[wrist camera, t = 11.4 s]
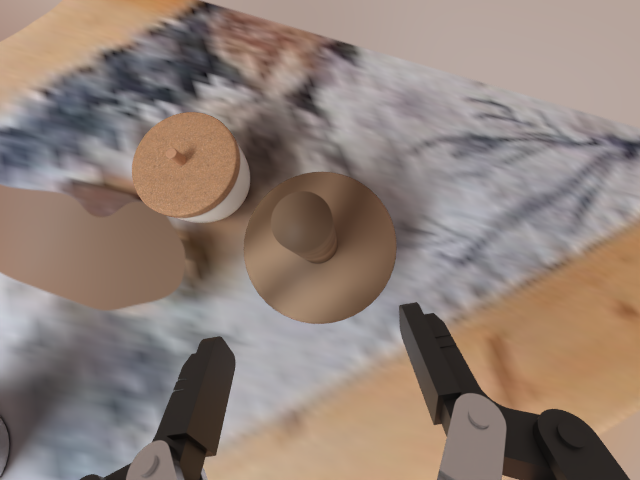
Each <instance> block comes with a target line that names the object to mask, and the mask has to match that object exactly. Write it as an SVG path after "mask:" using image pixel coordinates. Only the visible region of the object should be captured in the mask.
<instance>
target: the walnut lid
mask: <svg viewBox="0 0 640 480" xmlns="http://www.w3.org/2000/svg"><path fill="white" fill-rule="evenodd" d="M244 258H245V264H246V269H247V272H248V275H249V277H250V280H251V282H252V284H253V286H254V287H255V289H256V290H257V292H258V293H259V295H260V296H261V297H262V298H263V299H264V300H265V302H266V303H267V304H269V305H270V306H271V307H272V308H273V309H275V310H276V311H278V312H279V313H281V314H283V315H285V316H287V317H289V318H291V319H294V320H297V321H301V322H306V323H312V324H325V323H333V322H337V321H341V320H344V319H347V318H349V317H352V316H354V315H355V314H357V313H359V312H361V311H362V310H364V309H365V308H366V307H367V306H369V305H370V304H371V303H372V302H373V301H374V300H375V299H376V298H377V297H378V296H379V295H380V293H381V292H382V290H383V289H384V288H385V286H386V284H387V282H388V280H389V279H390V276H391V273H392V271H393V268H394V263H395V259H396V235H395V230H394V226H393V223H392V220H391V217H390V215H389V213H388V211H387V209H386V208H385V206H384V205H383V203H382V202H381V200H380V199H379V198H378V197H377V196H376V195H375V194H374V193H373V192H372V191H371V190H370V189H369V188H367V187H366V186H365V185H363V184H362V183H360V182H358V181H356V180H354V179H352V178H350V177H347V176H344V175H341V174H336V173H330V172H312V173H306V174H302V175H298V176H295V177H293V178H290V179H288V180H286V181H284V182H283V183H281V184H279V185H278V186H276V187H275V188H274V189H272V190H271V191H270V192H269V193H268V194H267V195H266V196H265V197H264V198H263V199H262V200H261V202H260V203H259V204H258V206H257V207H256V209H255V210H254V212H253V214H252V216H251V218H250V220H249V223H248V226H247V229H246V234H245V240H244Z"/></svg>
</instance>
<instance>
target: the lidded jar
mask: <svg viewBox="0 0 640 480" xmlns="http://www.w3.org/2000/svg"><path fill="white" fill-rule="evenodd" d="M132 178H133V183H134V186H135V189H136V191H137V193H138V195H139V197H140V198H141V199H142V201H143V202H144V203H145V204H146V205H147V206H148V207H150V208H151V209H153V210H154V211H157V212H159V213H161V214H164V215H166V216H171V217H175V218H178V219H181V220H185V221H190V222H198V223H208V222H214V221H218V220H222V219H224V218H226V217H228V216H230V215H231V214H233V213H234V212H235V211H236V210H237V209H238V208H239V207H240V206H241V205H242V203H243V202H244V200H245V199H246V196H247V194H248V191H249V187H250V171H249V166H248V163H247V160H246V158H245V155H244V153H243V151H242V150H241V148H240V146H239V145H238V143H237V142H236V140H235V138H234V137H233V135H232V133H231V132H230V131H229V130H228V128H227V127H226V126H225V125H224V124H223V123H222V122H220V121H219V120H218V119H216V118H214V117H212V116H209V115H207V114H203V113H196V112H187V113H180V114H177V115H173V116H171V117H168V118H166V119H164V120H163V121H161V122H159V123H158V124H156V125H155V126H154V127H153V128H152V129H151V130H150V131H149V132H148V133H147V134H146V135H145V136H144V138H143V139H142V141H141V142H140V144H139V146H138V148H137V150H136V153H135V155H134V159H133V164H132Z"/></svg>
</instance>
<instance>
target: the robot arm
mask: <svg viewBox="0 0 640 480" xmlns="http://www.w3.org/2000/svg"><path fill="white" fill-rule="evenodd" d="M399 316H400V331H401V335H402V339H403V342H404V344H405V347H406V350H407V353H408V355H409V358H410V361H411V364H412V366H413V369H414V372H415V375H416V377H417V380H418V383H419V386H420V388H421V391H422V394H423V396H424V399H425V402H426V405H427V407H428V410H429V413H430V416H431V418H432V421H433V424H434V425H437V424H442V426H443V428H444V431H445V434H446V436H447V439H446V444H445V448H444V452H443V456H442V461H441V465H440V469H439V474H438V478H437V480H502V475H504V476H508V477H511V478H515V479H519V480H630V479H629V478H628V476H627V475H626V474H625V472H624V471H623V470H622V468H621V467H620V465H619V464H618V463H617V461H616V460H615V459H614V457H613V456H612V455H611V453H610V452H609V450H608V449H607V448H606V446H605V445H604V444H603V442H602V441H601V440H600V438H599V437H598V436H597V434H596V433H595V432H594V431H593V429H592V428H591V427H590V426H589V425H587V424H586V423H585V422H584V421H583V420H581V419H580V418H578V417H577V416H575V415H573V414H571V413H569V412H566V411H563V410H558V409H549V410H546V411H544V412H542V413H541V415H538V414H533V413H528V412H523V411H518V410H513V409H509V408H506V407H503V406H501V405H499V404H497V403H496V402H494V401H493V400H491V399H490V398H489V397H488V396H487V395H486V394H485V393H484V392H483V391H482V390H481V388H480V387H479V385H478V383H477V381H476V380H475V378H474V376H473V374H472V372H471V371H470V369H469V367H468V365H467V363H466V361H465V360H464V358H463V356H462V354H461V352H460V350H459V349H458V347H457V346H456V343H455V341H454V340H453V338H452V337H451V334H450V332H449V330H448V329H447V327H446V325H445V323H444V322H443V321H442V320H441V319H440V318H438V317H437V316H436V315H435V314H434V313H430V314H425V315H424V314H423V312H422V310H421V307H420V305H419V304H418V303H417V302H415V303H409V304H404V305H400V306H399ZM234 371H235V356H234V354H233V352H232V351H231V350H230V348H229V347H228V345H227V344H226V342H225V341H224V340H223V338H222V337H220V336H219V337H213V338H207V339H203V340H202V341H201V342H200V344H199V347H198V350H197V352H196V353H195V354H191V356H190V357H189V358H188V360H187V361H186V363H185V364H184V365H183V367H182V370H181V372H180V375H179V377H178V382H176V385H175V387H174V392H173V393H172V395H171V397H170V400H169V403H168V405H167V408H166V410H165V413H164V415H163V418H162V420H161V423H160V425H159V428H158V430H157V433H156V435H155V437H154V439H153V441H152V443H150V444H148V445H147V446H146V447H144V448H143V449H142V450H141V451H140V452H139V453H138V455H137V456H136V457H135V459H134V460H133V462H132V463H130V464H129V465H127V466H125V467H123V468H121V469H119V470H117V471H115V472H114V473H112V474H110V475H108V476H106V477H104V478H103V477H100V476H98V475H94V474H91V475H87V476H85V477H83V478H81V479H80V480H208V479H207V476H206V473H205V470H204V468H203V464H204V460H205V457H209V456H216V453H217V448H218V444H219V439H220V435H221V430H222V426H223V421H224V416H225V412H226V407H227V403H228V398H229V394H230V389H231V385H232V380H233V376H234ZM8 453H9V437H8V433H7V429H6V426H5V425H4V423H3V421H2V420H1V418H0V476H1V474H2V472H3V470H4V467H5V465H6V462H7V458H8Z"/></svg>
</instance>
